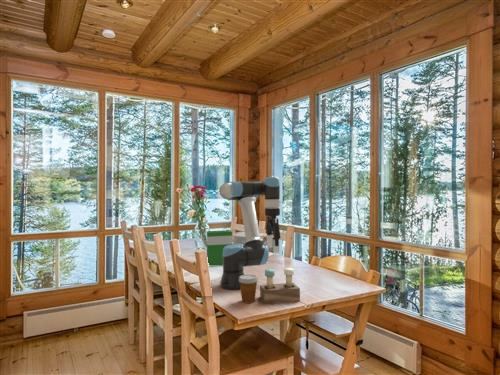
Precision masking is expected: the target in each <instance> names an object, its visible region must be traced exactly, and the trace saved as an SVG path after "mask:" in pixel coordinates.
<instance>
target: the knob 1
mask: <svg viewBox="0 0 500 375" xmlns="http://www.w3.org/2000/svg"><path fill="white" fill-rule="evenodd" d="M264 276H265V277H266V285H267V289H273V284H274V277H275V269H272V268H269V269H265V270H264Z"/></svg>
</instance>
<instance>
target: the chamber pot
mask: <svg viewBox="0 0 500 375" xmlns="http://www.w3.org/2000/svg"><path fill="white" fill-rule="evenodd" d="M259 233H260V239H262V240H263V241H264V239H263V237H266V239H265V241H264V244H266V245H267V233H266V232H265V233H263V232H261V231H259ZM232 237H234V238H233V239H232V244H238V243H240V244H243V246H244V244H245V242H246V236H245V230H244V231H243V230H242V231H237V232H232Z"/></svg>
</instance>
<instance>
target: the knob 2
mask: <svg viewBox="0 0 500 375" xmlns="http://www.w3.org/2000/svg"><path fill="white" fill-rule="evenodd" d="M294 270H295V269H294V268H292V267H286V268H284V269H283V275H285V283H286V287H287V288H291V287H292V283H293V275H294V274H295V271H294Z"/></svg>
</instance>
